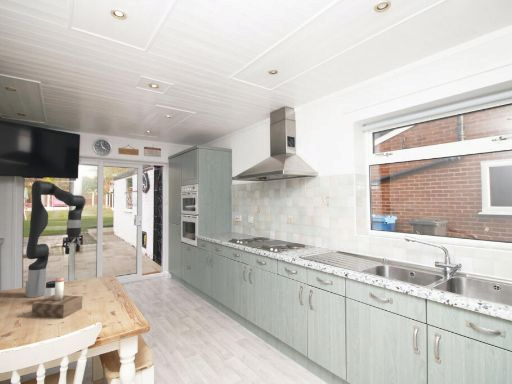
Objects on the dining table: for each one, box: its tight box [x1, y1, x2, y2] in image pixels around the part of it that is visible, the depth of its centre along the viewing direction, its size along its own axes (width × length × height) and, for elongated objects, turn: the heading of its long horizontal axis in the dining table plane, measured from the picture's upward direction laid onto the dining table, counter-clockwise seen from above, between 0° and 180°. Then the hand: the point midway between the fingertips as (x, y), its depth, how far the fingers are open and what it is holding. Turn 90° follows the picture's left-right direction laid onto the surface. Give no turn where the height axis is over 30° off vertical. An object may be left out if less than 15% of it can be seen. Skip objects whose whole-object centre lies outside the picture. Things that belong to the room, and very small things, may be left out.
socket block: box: [31, 294, 84, 319], centre depth 153 cm, size 18×14×7 cm
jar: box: [43, 280, 55, 299], centre depth 169 cm, size 9×8×12 cm
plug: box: [54, 277, 65, 301], centre depth 153 cm, size 4×4×13 cm
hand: (72, 252), depth 171 cm, fingers open, 8 cm apart
